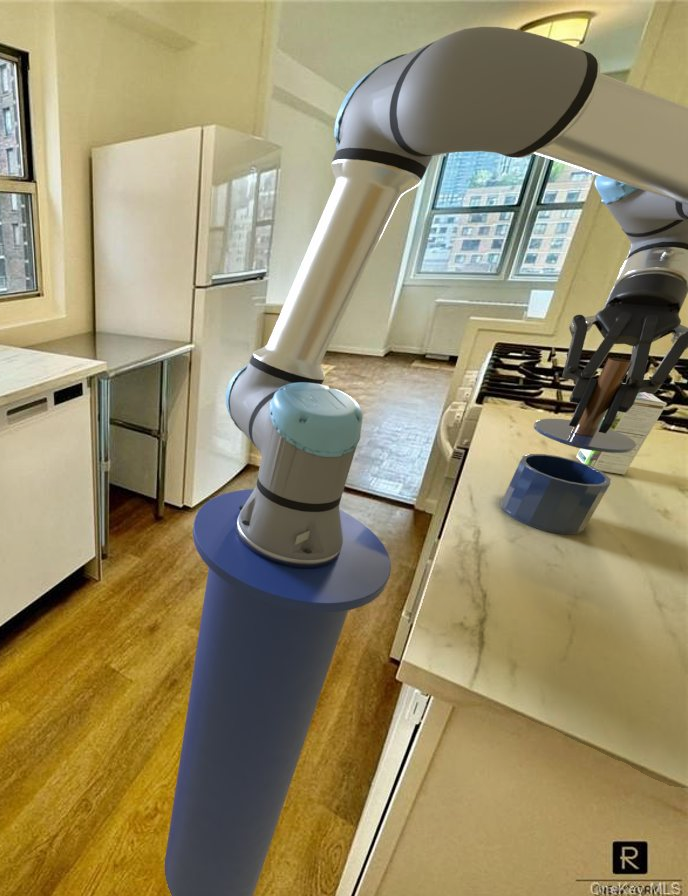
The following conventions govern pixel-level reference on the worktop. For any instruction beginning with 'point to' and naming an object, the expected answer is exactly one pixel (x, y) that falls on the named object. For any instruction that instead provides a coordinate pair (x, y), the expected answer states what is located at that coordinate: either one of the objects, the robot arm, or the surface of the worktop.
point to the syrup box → (627, 434)
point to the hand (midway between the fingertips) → (589, 424)
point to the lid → (593, 416)
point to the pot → (554, 493)
